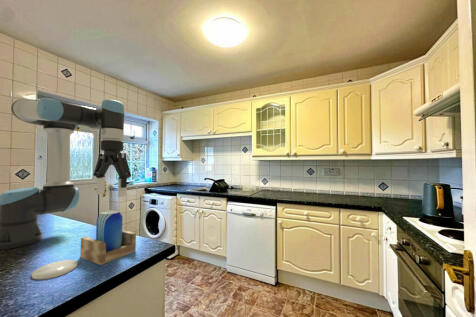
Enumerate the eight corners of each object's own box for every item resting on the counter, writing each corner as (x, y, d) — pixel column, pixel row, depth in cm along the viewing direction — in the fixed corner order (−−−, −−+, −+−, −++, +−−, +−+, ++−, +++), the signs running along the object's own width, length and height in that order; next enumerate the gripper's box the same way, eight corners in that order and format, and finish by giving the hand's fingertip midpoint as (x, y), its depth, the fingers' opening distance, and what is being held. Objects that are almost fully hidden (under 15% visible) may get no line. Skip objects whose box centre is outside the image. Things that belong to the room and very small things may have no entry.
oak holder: (80, 257, 74) (81, 237, 74) (115, 244, 86) (115, 228, 86) (100, 265, 68) (101, 244, 68) (135, 250, 80) (135, 233, 80)
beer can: (109, 260, 72) (110, 215, 73) (89, 257, 74) (91, 213, 74) (126, 250, 80) (127, 210, 81) (108, 248, 82) (109, 209, 82)
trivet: (25, 273, 63) (25, 271, 63) (67, 259, 72) (67, 257, 72) (40, 283, 58) (40, 281, 58) (84, 266, 67) (84, 264, 67)
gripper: (84, 141, 81) (82, 194, 80) (123, 137, 69) (121, 199, 69) (103, 143, 87) (102, 192, 87) (142, 140, 76) (141, 196, 75)
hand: (110, 195), depth 78 cm, fingers open, 13 cm apart
